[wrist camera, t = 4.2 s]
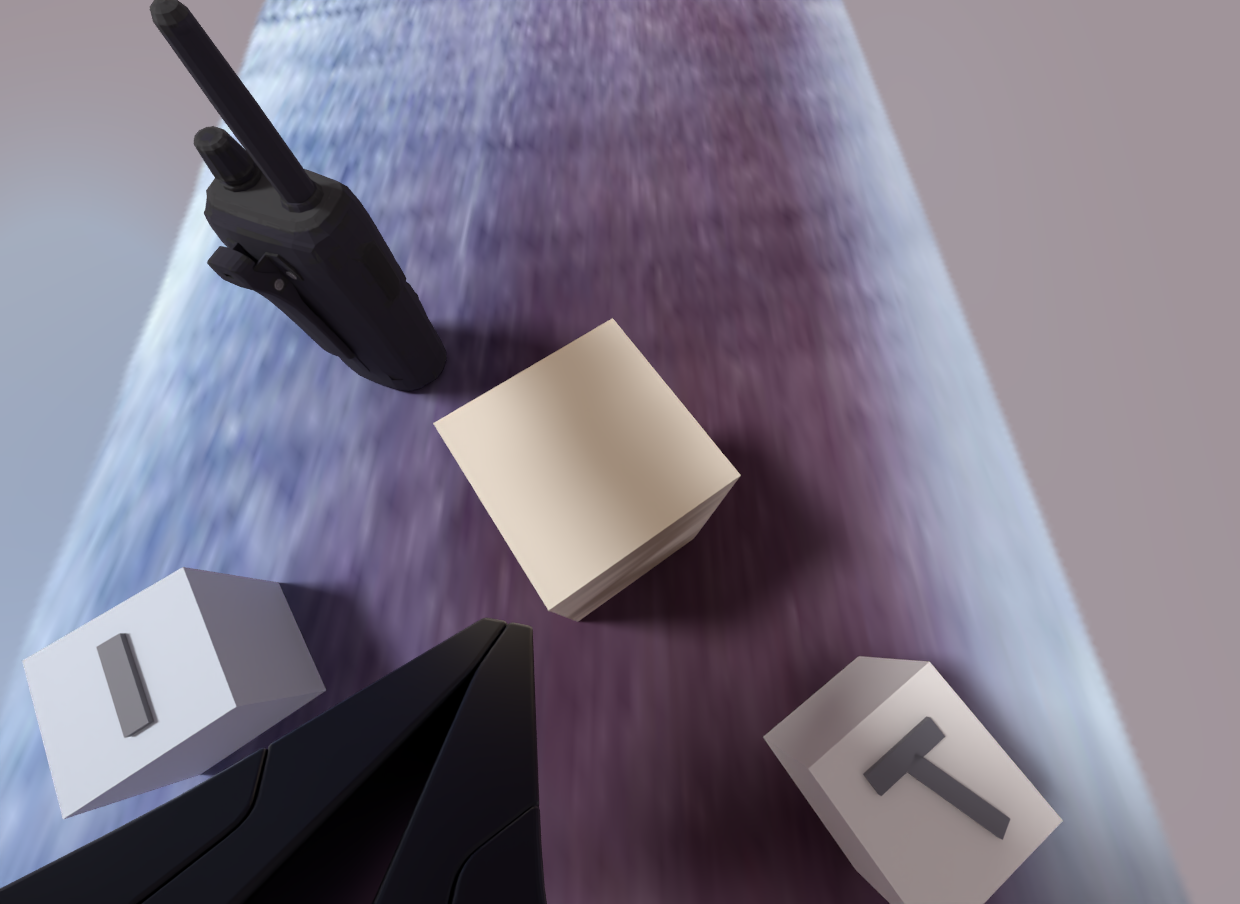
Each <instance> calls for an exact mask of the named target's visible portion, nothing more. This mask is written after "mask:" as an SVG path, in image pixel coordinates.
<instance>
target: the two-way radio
mask: <svg viewBox="0 0 1240 904" xmlns="http://www.w3.org/2000/svg"><path fill="white" fill-rule="evenodd" d="M150 11H151V15H152V19H153V22H154V23H155V25H156V26H157V28H158V29H159V30H160V32H161V33H162V35H163V36H164V37H165V39H166V40H167V41H168V43H169V44H170V46H171V47H172V49H173V50H174V51H175V53H176V54H177V56H178V57H179V58H180V60H181V61H182V63H183V64H184V66H185V67H186V68H187V70H188V71H189V73H190V74H191V75H192V77H193V78H194V79H195V81H196V82H197V84H198V85H199V87H200V88H201V89H202V91H203V92H204V94H205V95H206V96H207V98H208V99H209V101H210V102H211V103H212V105H213V106H214V108H215V109H216V110H217V112H218V113H219V114H220V116H221V117H222V119H223V120H224V121H225V123H226V124H227V125H228V127H229V128H230V130H231V131H232V132H233V134H234V135H235V136H236V138H237V139H238V140H239V142H240V143H241V144H242V146H243V147H244V148H245V149H244V148H243V147H242V146H241V145H240V144H239V143H238V142H237V141H235V140H234V139H233V138H232V137H231V136H230V135H229V134H228V133H227V132H226V131H225V130H224V129H221V128H217V127H214V126H212V127H206V128H204V129H201V130H199V131H198V132H197V134H196V135H195V138H194V145H195V147H196V149H197V150H198V152H199V153H200V155H201V157H202V158H203V160H204V161H205V163H206V165H207V166H208V168H209V169H210V171H211V172H212V174H213V175H214V177H215V179H214V180H213V182H212V183H211V185H210V186H209V187H208V189H207V190H206V193H207V201H206V208H205V211H204V215H205V217H206V219H207V221H208V223H209V224H210V226H211V227H212V229H213V230H214V231H215V233H216V234H217V235H218V237H219V238H220V239H221V241H222V242H223V243H224V244H225V245H226V246H227V247H228V248H227V247H223V246H219V248H218V249H217V250H216V251H215V252H214V254H213V255H212V256H211V257H210V258H209V260H208V262H207V263H208V265H209V266H210V267H211V268H212V269H213V270H214V271H215V272H216V273H217V274H218V275H219V276H220V277H221V278H222V279H223V280H226V281H228V282H230V283H232V284H235V285H237V286H240V287H243V288H247V289H250V290H254V291H256V292H257V293H259V294H261V295H262V296H264V297H265V298H267V299H268V300H269V301H271V302H272V303H273V304H274V305H275V306H277V307H278V308H279V309H280V310H281V311H282V312H284V313H285V314H286V315H287V316H288V317H289V318H290V319H291V320H292V321H294V322H295V323H296V324H297V325H298V326H299V327H300V328H301V329H302V330H303V331H304V332H305V333H306V334H308V335H309V336H310V337H311V338H312V339H313V340H314V341H315V342H316V343H317V344H318V345H319V346H320V347H322V348H323V349H324V350H325V351H327V352H329V353H331V354H333V355H336V356H339V357H340V358H341V360H342V361H343V362H344V363H345V364H346V365H347V366H348V367H350V368H351V369H352V370H353V371H355V372H356V373H357V374H359V375H360V376H362V377H364V378H366V379H369V380H371V381H374V382H376V383H379V384H382V385H385V386H388V387H391V388H395V389H399V390H409V391H410V390H415V389H419V388H422V387H423V386H424V385H426V384H428V383H430V382H431V381H433V380H435V379H436V378H437V377H438V376H439V374H440V373H441V372H442V370H443V368H444V365H445V362H446V359H447V356H446V350H445V348H444V346H443V344H442V342H441V340H440V338H439V336H438V334H437V333H436V331H435V329H434V327H433V325H432V324H431V322H430V321H429V319H428V317H427V315H426V313H425V310H424V308H423V306H422V304H421V302H420V300H419V297H418V295H417V294H416V293H415V291H414V290H413V289H412V287H411V285H410V284H408V283H407V282H406V277H405V275H404V273H403V271H402V270H401V268H400V266H399V265H398V263H397V262H396V260H395V258H394V256H393V254H392V252H391V251H390V249H389V247H388V246H387V244H386V242H385V241H384V239H383V237H382V235H381V234H380V232H379V230H378V229H377V227H376V225H375V224H374V222H373V220H372V219H371V217H370V215H369V214H368V212H367V211H366V209H365V208H364V207H363V205H362V204H361V202H360V201H359V199H358V198H357V197H356V196H355V195H354V194H353V193H352V191H351V190H350V189H349V188H348V187H347V186H345V185H344V184H342V183H340V182H338V181H335V180H333V179H330V178H327V177H325V176H322V175H320V174H317V173H315V172H312V171H309V170H305V169H303V167H302V166H301V165H300V163H299V162H298V160H297V159H296V157H295V156H294V155H293V153H292V152H291V150H290V149H289V147H288V146H287V145H286V143H285V142H284V140H283V139H282V138H281V136H280V135H279V133H278V132H277V130H276V129H275V128H274V126H273V125H272V123H271V122H270V120H269V119H268V118H267V116H266V115H265V113H264V112H263V110H262V109H261V108H260V106H259V105H258V103H257V102H256V101H255V99H254V98H253V96H252V95H251V94H250V92H249V91H248V90H247V88H246V87H245V86H244V84H243V83H242V81H241V80H240V79H239V77H238V76H237V75H236V73H235V72H234V71H233V69H232V68H231V67H230V65H229V64H228V62H227V61H226V60H225V58H224V57H223V56H222V54H221V53H220V51H219V50H218V49H217V47H216V46H215V45H214V43H213V42H212V40H211V39H210V38H209V36H208V35H207V34H206V32H205V31H204V30H203V28H202V27H201V25H200V24H199V23H198V22H197V20H196V19H195V17H194V16H193V15H192V13H191V12H190V11H189V9H188V8H187V7H186V6H184V5H183V4H182V3H181V2H179V1H178V0H154V1H153V3H152V4H151V6H150Z"/></svg>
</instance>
